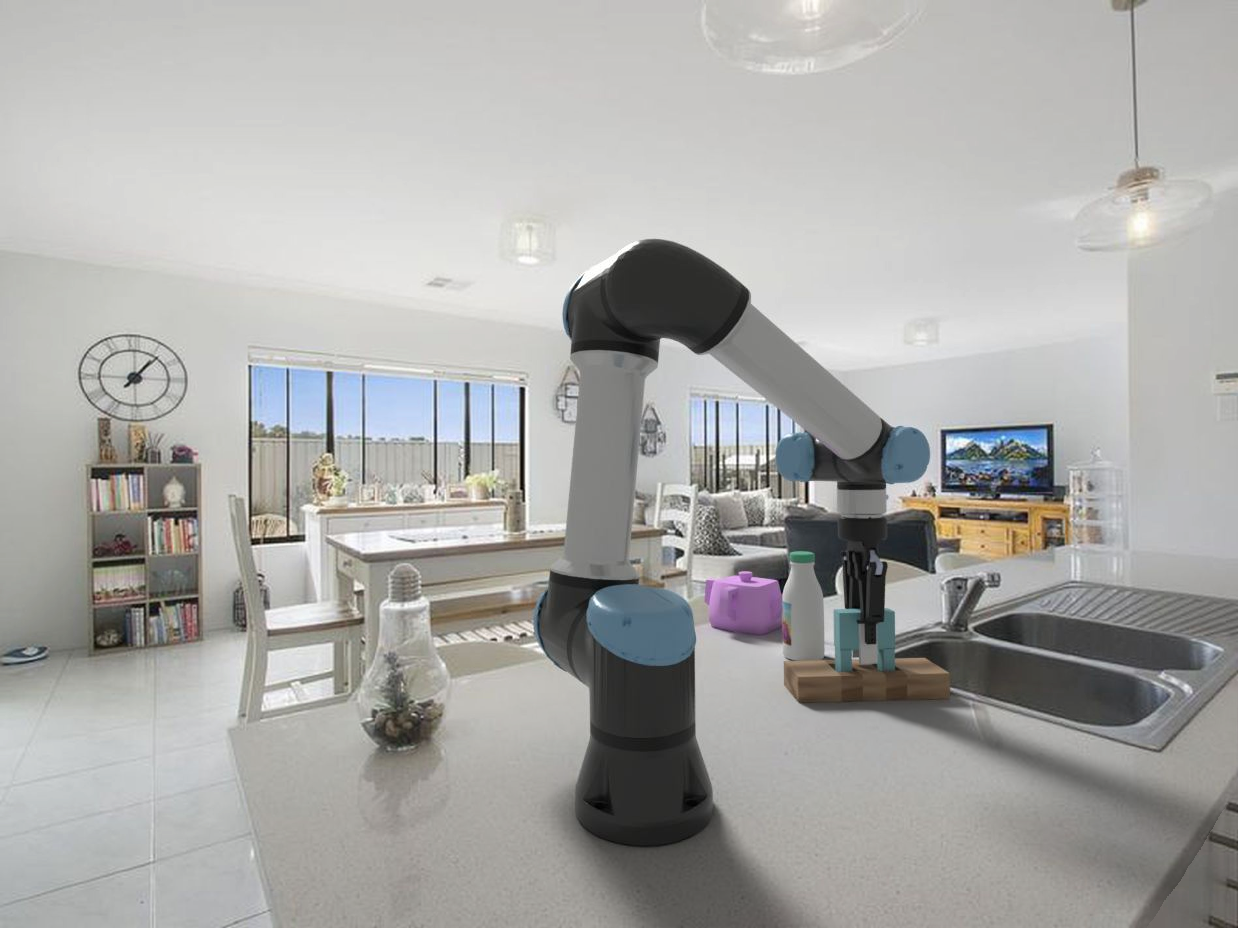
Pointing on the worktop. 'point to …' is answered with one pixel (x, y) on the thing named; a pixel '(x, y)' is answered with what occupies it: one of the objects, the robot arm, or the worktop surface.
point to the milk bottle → (803, 611)
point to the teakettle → (744, 603)
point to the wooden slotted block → (866, 681)
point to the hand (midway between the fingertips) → (864, 659)
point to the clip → (849, 639)
